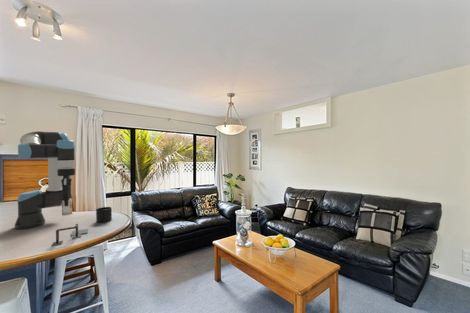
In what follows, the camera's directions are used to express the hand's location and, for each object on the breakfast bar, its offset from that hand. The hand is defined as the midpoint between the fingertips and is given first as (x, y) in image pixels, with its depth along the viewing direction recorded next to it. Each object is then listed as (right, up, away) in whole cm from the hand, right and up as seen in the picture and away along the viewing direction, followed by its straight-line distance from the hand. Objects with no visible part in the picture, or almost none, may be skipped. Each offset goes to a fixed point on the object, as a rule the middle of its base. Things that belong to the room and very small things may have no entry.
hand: (67, 211), depth 115 cm
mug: (-3, -17, +36) cm, 40 cm away
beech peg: (0, -2, 0) cm, 2 cm away
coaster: (-3, -17, +14) cm, 22 cm away
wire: (-2, -17, +3) cm, 17 cm away
